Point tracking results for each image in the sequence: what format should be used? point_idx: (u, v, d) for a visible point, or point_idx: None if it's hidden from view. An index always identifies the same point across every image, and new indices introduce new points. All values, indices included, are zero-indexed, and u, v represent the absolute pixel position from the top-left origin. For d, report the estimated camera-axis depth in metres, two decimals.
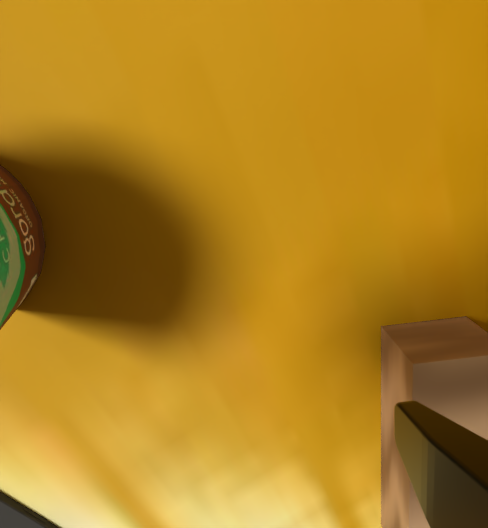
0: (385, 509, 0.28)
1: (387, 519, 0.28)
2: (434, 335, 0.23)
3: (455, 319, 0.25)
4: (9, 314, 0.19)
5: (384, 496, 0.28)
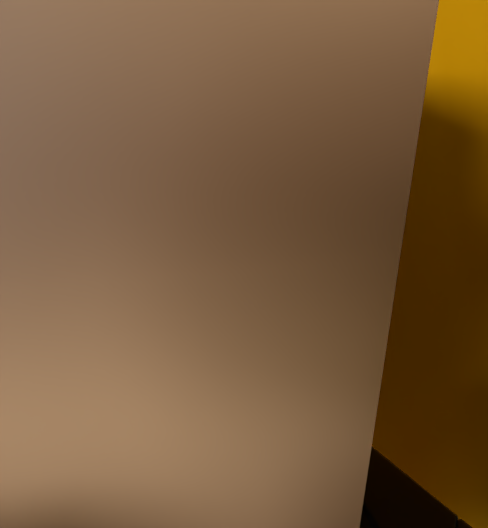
0: None
1: None
2: None
3: None
4: None
5: None
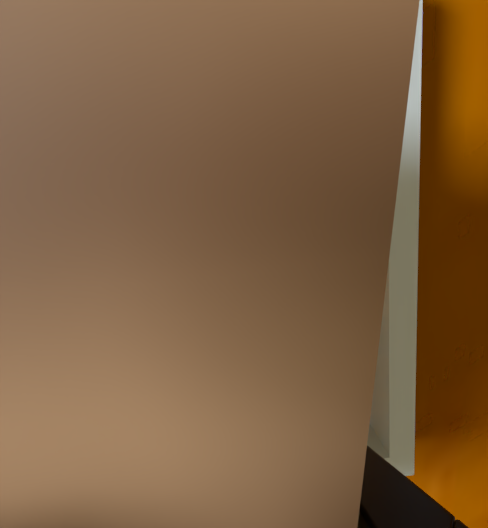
0: None
1: None
2: None
3: None
4: None
5: None
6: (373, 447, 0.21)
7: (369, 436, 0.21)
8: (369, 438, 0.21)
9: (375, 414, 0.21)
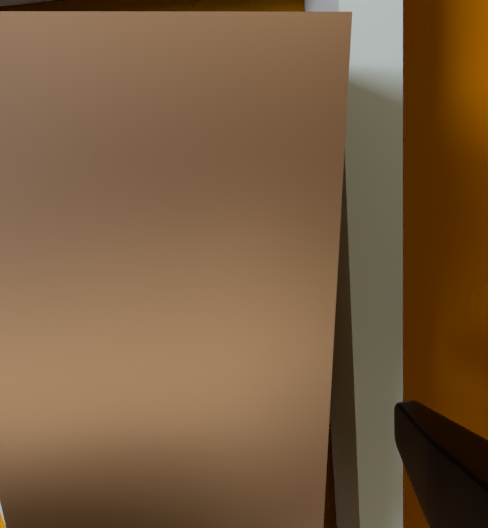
0: None
1: None
2: None
3: None
4: None
5: None
6: None
7: None
8: None
9: None
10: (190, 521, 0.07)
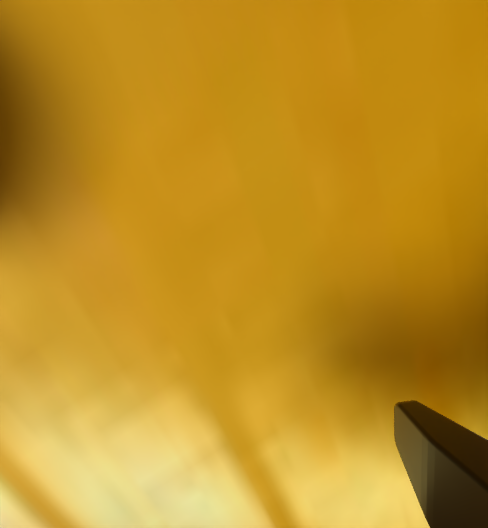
0: None
1: None
2: None
3: None
4: None
5: None
6: None
7: None
8: None
9: None
10: None
